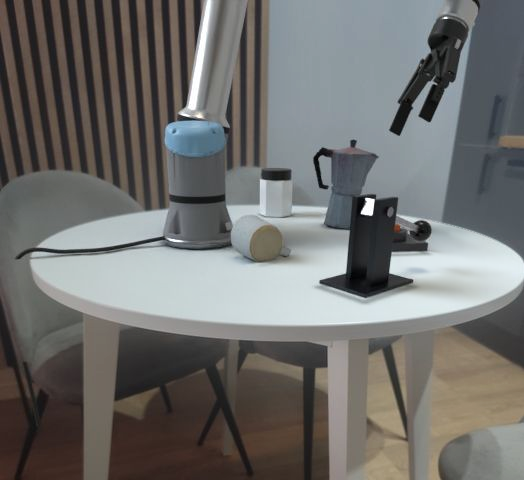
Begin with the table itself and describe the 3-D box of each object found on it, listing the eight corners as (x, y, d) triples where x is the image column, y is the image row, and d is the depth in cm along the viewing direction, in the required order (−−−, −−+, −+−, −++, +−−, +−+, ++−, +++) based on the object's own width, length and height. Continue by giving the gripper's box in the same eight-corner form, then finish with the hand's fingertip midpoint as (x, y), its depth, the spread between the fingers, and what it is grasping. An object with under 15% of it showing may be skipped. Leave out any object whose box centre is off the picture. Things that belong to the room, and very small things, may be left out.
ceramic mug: (250, 266, 88) (251, 223, 85) (229, 256, 95) (229, 215, 92) (299, 260, 93) (302, 219, 90) (277, 251, 100) (278, 212, 96)
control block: (369, 256, 97) (371, 235, 95) (352, 244, 106) (354, 225, 104) (426, 254, 99) (429, 233, 97) (405, 242, 108) (407, 224, 106)
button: (385, 233, 99) (386, 224, 98) (378, 230, 102) (379, 221, 101) (402, 233, 99) (403, 224, 99) (395, 229, 103) (396, 221, 102)
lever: (413, 242, 86) (420, 221, 85) (431, 245, 84) (438, 224, 83) (355, 217, 74) (362, 193, 73) (374, 220, 72) (382, 195, 71)
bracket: (367, 274, 85) (376, 190, 79) (412, 286, 79) (425, 196, 73) (319, 287, 78) (324, 196, 72) (363, 302, 72) (374, 204, 66)
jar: (273, 211, 144) (274, 167, 139) (296, 214, 139) (298, 169, 134) (253, 215, 137) (254, 169, 132) (277, 218, 133) (278, 171, 128)
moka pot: (375, 230, 120) (384, 140, 111) (311, 229, 120) (315, 139, 112) (368, 223, 128) (376, 139, 120) (308, 222, 129) (312, 138, 120)
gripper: (504, 11, 93) (455, 121, 96) (435, 58, 117) (396, 145, 120) (473, -10, 91) (423, 102, 94) (408, 42, 115) (370, 130, 118)
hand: (408, 126), depth 107 cm, fingers open, 13 cm apart
